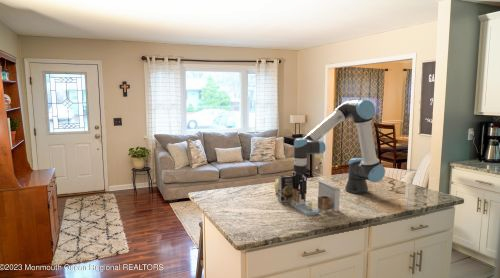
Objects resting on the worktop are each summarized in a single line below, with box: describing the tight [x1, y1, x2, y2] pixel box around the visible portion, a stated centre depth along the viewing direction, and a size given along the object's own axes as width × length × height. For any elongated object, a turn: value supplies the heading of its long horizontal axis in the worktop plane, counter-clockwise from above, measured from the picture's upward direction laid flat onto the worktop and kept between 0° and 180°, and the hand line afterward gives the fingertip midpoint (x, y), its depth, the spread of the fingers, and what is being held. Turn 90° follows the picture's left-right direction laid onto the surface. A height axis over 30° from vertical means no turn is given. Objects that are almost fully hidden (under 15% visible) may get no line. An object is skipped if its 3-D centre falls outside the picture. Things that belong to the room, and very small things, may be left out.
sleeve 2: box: [317, 195, 333, 214], centre depth 191 cm, size 6×6×8 cm
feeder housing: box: [317, 180, 341, 212], centre depth 198 cm, size 3×18×13 cm, turn 19°
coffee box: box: [277, 174, 293, 204], centre depth 208 cm, size 9×6×16 cm
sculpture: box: [273, 178, 278, 194], centre depth 225 cm, size 11×12×11 cm
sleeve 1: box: [293, 188, 307, 205], centre depth 199 cm, size 6×6×8 cm
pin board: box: [289, 202, 320, 217], centre depth 194 cm, size 8×20×6 cm, turn 19°
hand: (299, 202), depth 200 cm, fingers closed on sleeve 1, 6 cm apart
